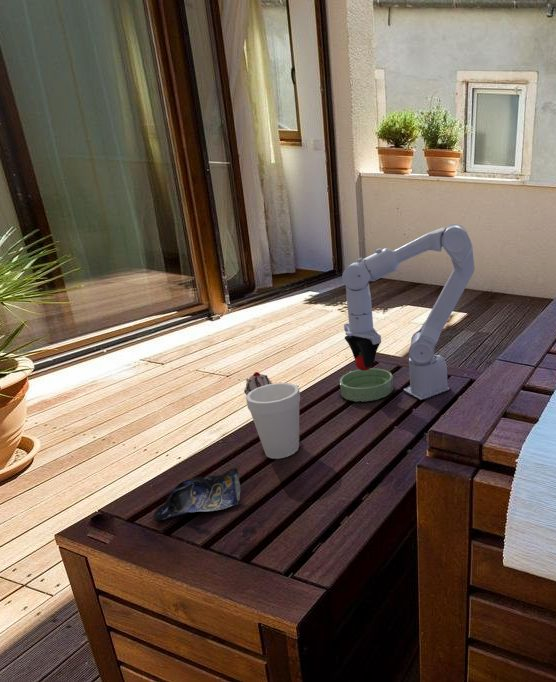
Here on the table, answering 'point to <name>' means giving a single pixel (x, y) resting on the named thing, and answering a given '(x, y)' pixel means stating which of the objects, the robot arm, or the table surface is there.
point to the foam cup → (276, 418)
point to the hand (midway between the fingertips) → (364, 363)
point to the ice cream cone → (256, 382)
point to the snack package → (202, 495)
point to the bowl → (366, 384)
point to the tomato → (360, 362)
